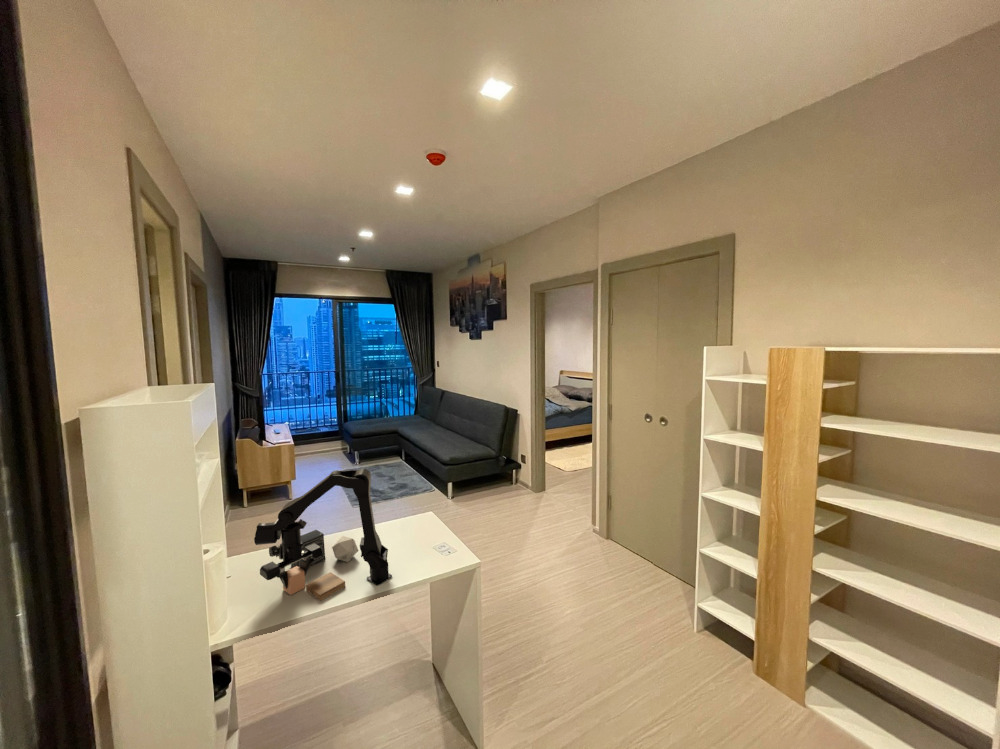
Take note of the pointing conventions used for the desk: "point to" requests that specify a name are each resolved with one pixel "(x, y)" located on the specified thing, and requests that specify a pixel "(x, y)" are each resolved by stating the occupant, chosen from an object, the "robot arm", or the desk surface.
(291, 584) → the terracotta cube
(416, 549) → the desk surface
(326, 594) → the walnut slab
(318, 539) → the small box
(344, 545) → the die
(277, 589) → the desk surface
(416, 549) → the desk surface
